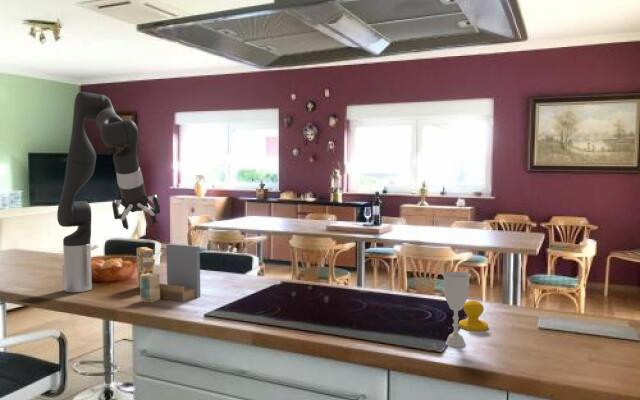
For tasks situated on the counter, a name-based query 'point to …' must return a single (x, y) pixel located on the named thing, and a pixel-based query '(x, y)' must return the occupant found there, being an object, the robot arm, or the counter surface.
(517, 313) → the counter surface
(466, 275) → the chalice
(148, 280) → the cabinet block
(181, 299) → the cleat board
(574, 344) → the counter surface
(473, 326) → the doorknob
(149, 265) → the candy box
